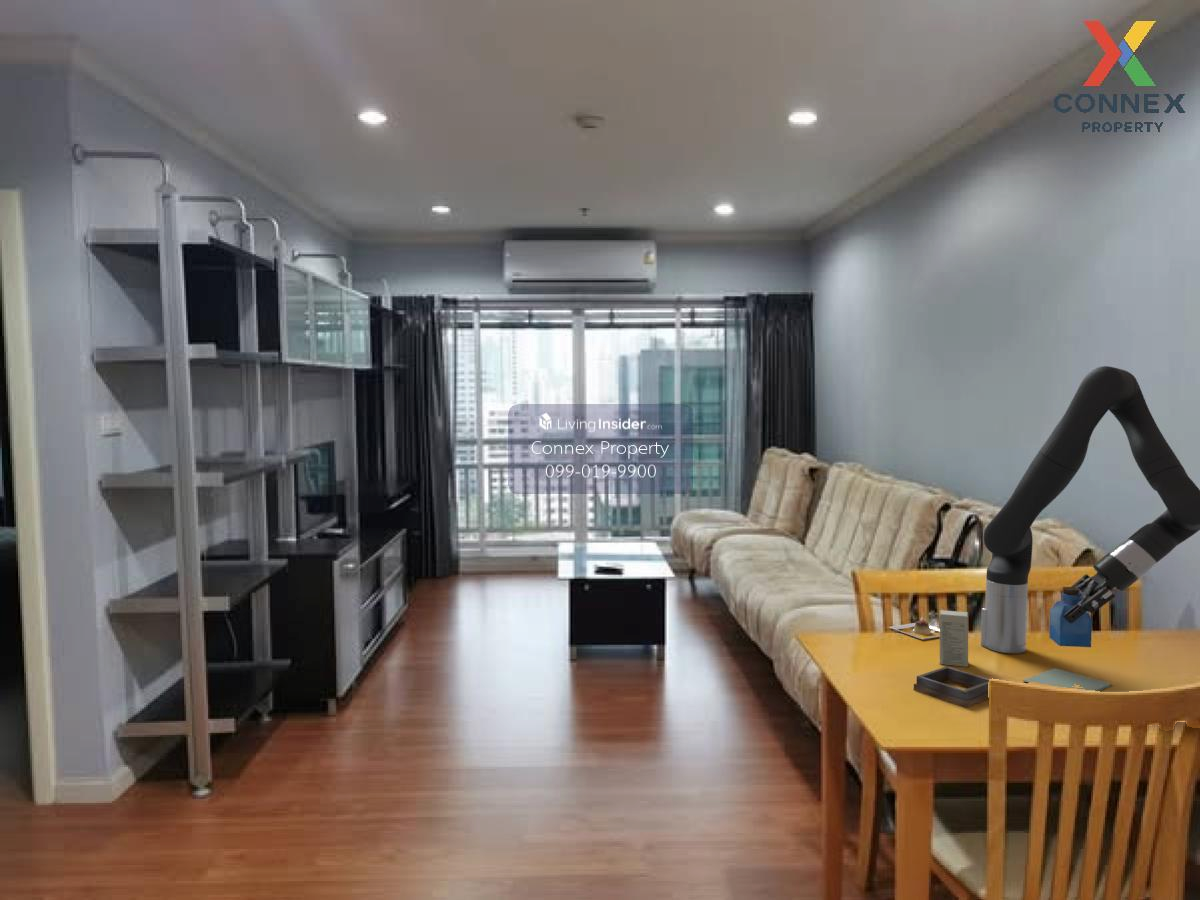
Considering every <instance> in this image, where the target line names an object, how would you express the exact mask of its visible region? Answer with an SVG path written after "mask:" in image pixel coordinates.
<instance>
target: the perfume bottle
mask: <svg viewBox="0 0 1200 900" xmlns="http://www.w3.org/2000/svg"><path fill="white" fill-rule="evenodd" d="M1078 593H1079V589H1078V588H1075V587H1071V586H1063V587H1062V592H1061V598H1062V600H1063V601H1062V600H1057V601H1056V602H1055V603H1054V605H1052V607H1051V609H1049V632H1048V633H1049V639H1051V641H1053V642H1054V643H1055V644H1057V646H1059V647H1073V648H1075V647H1077V648H1092V630H1093V629H1092V624H1093V621H1092V620H1093V619H1092V616H1091V615H1090V614H1089V613H1090V612H1088V613H1086V612H1085V613H1084V614H1083V615H1082V616H1080V617H1079V618H1078V619H1077V620H1076V621H1074V622H1073V623H1069V622H1068V621H1067V620H1066V619H1065V618H1064V617H1063V615H1064V614H1065V613H1066V612H1067V611H1069V610H1070V609H1071V608H1072V607H1074V606H1075V605H1077V604H1078V600H1080V594H1078ZM1077 606H1078V605H1077Z"/></svg>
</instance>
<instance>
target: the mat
mask: <svg viewBox="0 0 1200 900" xmlns="http://www.w3.org/2000/svg"><path fill="white" fill-rule="evenodd" d="M1023 681H1024V682H1036V683H1040V684H1047V685H1051V686H1058V687H1067V688H1075V687H1072V686H1075V685H1074V684H1076V685H1080V686H1079V687H1083V688H1077V689H1085V690H1095V691H1097V692H1099V691H1101V690H1105V689H1106V688H1108V687H1110V686H1112V683H1111V682H1108V681H1104V680H1100V679H1096V678H1092V677H1089V676H1085V675H1083V674H1082V675H1081V674H1078V673H1074V672H1071V671H1066V670H1063V669H1059V668H1055V667H1054V668H1051V669H1049V670H1047V671H1044V672H1040V673H1038V674H1036V675H1034V676H1030V677H1028V678H1026V679H1024V680H1022V682H1023ZM1024 682H1023V683H1024Z"/></svg>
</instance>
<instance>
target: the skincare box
mask: <svg viewBox="0 0 1200 900" xmlns="http://www.w3.org/2000/svg"><path fill="white" fill-rule="evenodd" d="M939 628H940V632H939V636H940V637H939V664H940V665H946V666H956V667H966V668H967V667H969V612H967V611H959V610H958V611H954V610H945V609H940V610H939Z"/></svg>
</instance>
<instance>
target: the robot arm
mask: <svg viewBox="0 0 1200 900" xmlns="http://www.w3.org/2000/svg"><path fill="white" fill-rule="evenodd" d="M1108 411H1109V412H1111V414H1112V415H1113V416H1114V417H1115V418H1116V420H1117V421H1118V423H1119V424H1120V426H1121V427H1122V428H1123V430H1124V433H1125V436H1126V437H1127V440H1128V444H1129V448H1130V451H1131V454H1132V457H1133V458H1134V459H1133V460H1135V463H1136V465H1137V466H1138V468H1139V470H1140V472H1141V473H1142V475H1143V476H1144V478H1145V479H1146V481H1147V483H1148V484H1149V486H1150V487H1151V488H1152V490H1154V491H1155V492H1157V494H1158V495H1159V498H1160V499H1161V500H1162V502H1163V503H1164V506H1165V508H1166V510H1165V511H1164V512H1163V513H1162V514H1160V515H1159V516H1158V517H1156V519H1154V520H1153V521H1152V522H1150V523H1147V524H1145V525H1143V526H1142V527H1140V528H1139V529H1138V530H1137V531H1136V532H1134V533H1133V534H1131V536H1129V537H1128V538H1126V539H1125V540H1123V541H1122V542H1120V543H1118V545H1116V546H1115V547H1114V548H1112V549H1111V550H1110V551H1109V552H1108V553H1106V554H1105V555H1103V557H1102V558H1100V559H1099V560H1098V561H1096V562H1095V563H1094V564H1093V566H1092V568H1093V569H1094V570H1095V571H1096V573H1095V574H1094V575H1093V576H1091V577H1090V575H1088V574H1087V573H1086V574H1083V576H1081V578H1079V579H1078V580H1077V581H1076V582H1075V583H1073V584H1072V585H1071V586H1070V587H1075V588H1078V589H1079V593H1078V594H1080V600H1078V604H1077V605H1078V606H1077V605H1075V606H1074V607H1072V608H1071V609H1070V610H1069V611H1067V612H1066V613H1065V614H1064V615H1063V617H1064V618H1065V619H1066V620H1067V621H1068V622H1069V623H1073V622H1074V621H1076V620H1077V619H1078V618H1079V617H1080V616H1082V615H1083V614H1084V613H1085V612H1086V613H1090V614H1095V612H1096V611H1098V610H1100V609H1102V607H1103V606H1105V605H1106V604H1108V603H1109V602H1111V600H1113V599H1114V598H1115V597H1116V595H1115V593H1113V592H1112V591H1113V590H1114V589H1116V590H1117V591H1118V592H1121V593H1123V592H1125V591H1126V590H1127V589H1128V588H1129V587H1132V586H1133V584H1135V583H1136V582H1138V580H1140V579H1142V577H1143V576H1144V575H1146V574H1147V573H1148V572H1149V571H1151V569H1152V568H1153V567H1155V565H1157V564H1158V562H1159V561H1161V560H1162V559H1163V558H1165V557H1166V556H1167V555H1168V554H1170V553H1171V552H1172V551H1173V550H1174V549H1175V548H1176V547H1177V546H1179V545H1180V544H1183V542H1184V541H1187V539H1189V538H1191V537H1192V536H1193V535H1195V534H1197V533H1198V532H1199V531H1200V488H1199V487H1198V486H1197V485H1196V483H1195V482H1194V481H1193V480H1192V479H1191V478H1190V476H1189V474H1188V473H1187V472H1186V470H1185V468H1184V466H1183V464H1182V463H1181V461H1180V459H1179V458H1178V457H1177V455H1176V454H1175V452H1174V451H1173V449H1172V448H1171V446H1170V445H1169V443H1168V442H1167V440H1166V438H1165V437H1164V435H1163V434H1162V431H1161V430H1160V428H1159V427H1158V424H1157V423H1156V421H1155V419H1154V417H1153V415H1152V412H1151V411H1150V409H1149V407H1148V404H1147V402H1146V399H1145V397H1144V394H1143V391H1142V388H1141V387H1140V384H1139V382H1138V380H1137V378H1136V377H1135V375H1133V374H1132V373H1131V372H1129V371H1128V370H1126V369H1122V368H1119V367H1113V366H1109V365H1108V366H1107V365H1103V366H1100V367H1095V368H1093V369H1092V370H1091V371H1090V372H1088V373H1087V374H1086V375H1085V377H1084V378H1083V379H1082V381H1081V382H1080V385H1079V386H1078V388H1077V390H1076V392H1075V393H1074V396H1073V398H1072V399H1071V401H1070V404H1069V406H1068V408H1066V411H1065V413H1064V415H1062V418H1061V419H1060V420H1059V421H1058V423H1057V425H1056V426H1055V427H1054V429H1053V430H1052V431H1051V434H1050V435H1049V437H1048V438H1047V439H1046V441H1045V442H1044V444H1043V445H1042V446H1041V447H1040V449H1039V450H1038V452H1037V454H1036V455H1035V457H1034V458H1033V460H1032V461H1031V462H1030V464H1029V466H1028V468H1027V469H1026V470H1025V473H1024V474H1023V475H1022V477H1021V479H1020V480H1019V482H1018V484H1017V486H1016V487H1015V489H1014V491H1013V492H1012V494H1011V496H1010V497H1009V498H1008V500H1007V501H1006V503H1005V504H1004V505H1003V507H1002V508H1001V509H1000V510H999V511H998V513H996V515H995V516H994V517H993V518H992V519H991V521H990V522H989V523H988V524H987V525H986V527H985V528H984V532H983V543H984V545H985V548H986V549H987V551H989V552H990V553H991V560H990V562H989V565H988V566H987V568H986V582H985V590H986V591H985V607H984V608H981V623H980V625H981V626H980V627H981V628H980V629H981V630H980V631H981V632H980V634H981V636H980V646H983V647H985V648H987V649H988V650H991V651H993V652H999V653H1003V654H1022V653H1025V652H1026V648H1027V647H1026V645H1027V642H1026V641H1027V621H1028V620H1027V617H1028V616H1027V614H1028V613H1027V612H1028V588H1029V587H1028V583H1029V574H1030V572H1031V568H1032V560H1033V559H1032V558H1033V543H1034V542H1033V532H1032V531H1033V530H1032V529H1031V527H1032V525H1033V523H1034V522H1035V520H1036V519H1037V517H1038V516H1039V515H1040V514H1041V512H1042V511H1044V509H1046V507H1048V506H1049V505H1050V504H1051V503H1052V502H1054V500H1055V499H1056V498H1057V497H1058V496H1059V495H1060V494H1061V493H1063V491H1064V490H1065V489H1066V488H1067V486H1068V485H1069V484H1070V483H1071V481H1072V480H1073V479H1074V477H1075V476H1076V474H1077V472H1079V470H1080V469H1081V467H1082V465H1083V463H1084V461H1085V458H1086V456H1087V452H1088V448H1089V444H1090V441H1091V437H1092V434H1093V432H1094V430H1095V429H1096V427H1097V425H1098V424H1099V423H1100V421H1102V419H1103V418H1104V416H1105V415H1106V414H1107V412H1108ZM1061 601H1063V599H1062V600H1061Z"/></svg>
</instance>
